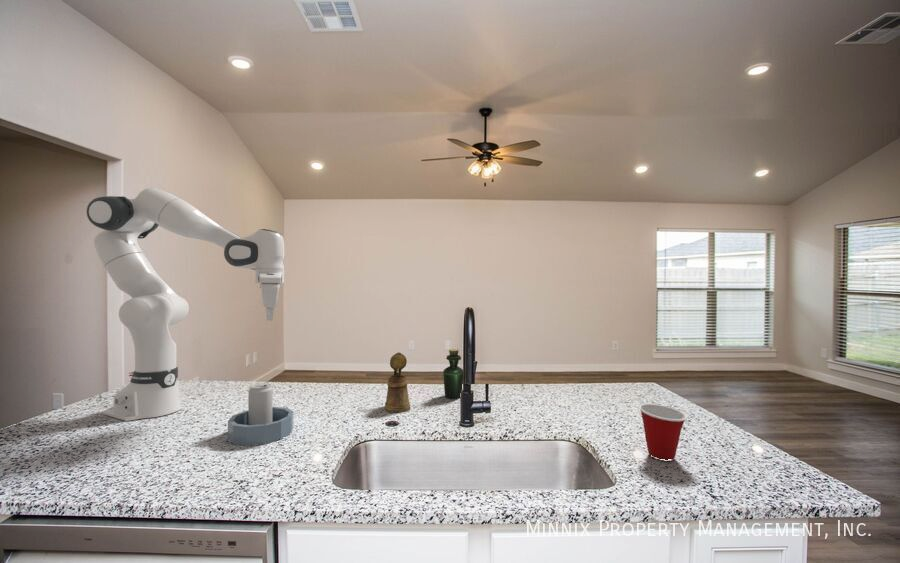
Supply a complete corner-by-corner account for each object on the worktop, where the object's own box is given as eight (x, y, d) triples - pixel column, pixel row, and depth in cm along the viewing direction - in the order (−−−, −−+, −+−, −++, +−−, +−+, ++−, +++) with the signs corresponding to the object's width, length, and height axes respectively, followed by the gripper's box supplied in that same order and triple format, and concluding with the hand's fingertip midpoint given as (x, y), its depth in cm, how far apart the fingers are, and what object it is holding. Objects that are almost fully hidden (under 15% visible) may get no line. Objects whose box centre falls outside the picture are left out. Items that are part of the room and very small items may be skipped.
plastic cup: (686, 471, 91) (687, 420, 91) (636, 459, 97) (636, 411, 97) (687, 454, 100) (687, 407, 101) (641, 444, 106) (641, 400, 106)
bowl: (214, 441, 106) (214, 423, 106) (258, 420, 122) (258, 404, 122) (265, 448, 102) (265, 429, 102) (304, 426, 117) (304, 409, 117)
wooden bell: (410, 400, 145) (411, 352, 145) (410, 412, 131) (410, 359, 131) (386, 400, 144) (386, 352, 144) (383, 413, 130) (384, 359, 130)
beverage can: (262, 430, 111) (262, 388, 111) (243, 429, 112) (243, 387, 112) (277, 423, 117) (277, 383, 117) (258, 421, 118) (258, 382, 118)
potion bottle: (447, 392, 155) (448, 347, 155) (466, 395, 152) (467, 349, 152) (439, 398, 148) (439, 350, 148) (459, 400, 144) (459, 352, 144)
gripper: (260, 278, 138) (259, 317, 138) (259, 277, 120) (258, 322, 120) (279, 278, 141) (279, 316, 141) (281, 277, 122) (281, 321, 122)
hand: (269, 319), depth 130 cm, fingers open, 8 cm apart
